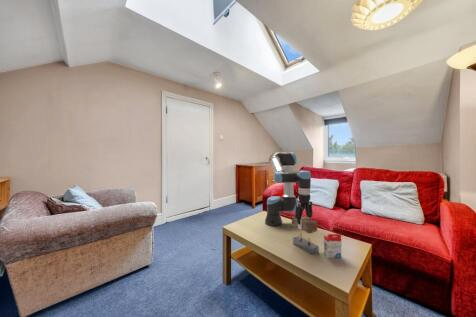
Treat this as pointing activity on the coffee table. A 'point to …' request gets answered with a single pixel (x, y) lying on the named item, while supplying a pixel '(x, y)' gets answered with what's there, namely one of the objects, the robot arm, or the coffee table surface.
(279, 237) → the coffee table surface
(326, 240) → the ink box
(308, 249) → the rail
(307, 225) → the wooden block
